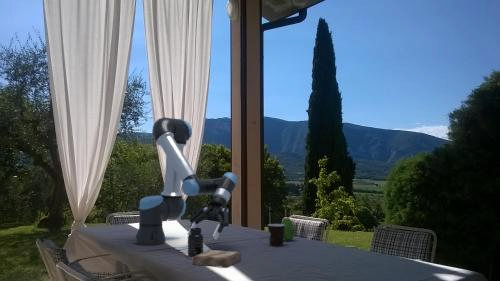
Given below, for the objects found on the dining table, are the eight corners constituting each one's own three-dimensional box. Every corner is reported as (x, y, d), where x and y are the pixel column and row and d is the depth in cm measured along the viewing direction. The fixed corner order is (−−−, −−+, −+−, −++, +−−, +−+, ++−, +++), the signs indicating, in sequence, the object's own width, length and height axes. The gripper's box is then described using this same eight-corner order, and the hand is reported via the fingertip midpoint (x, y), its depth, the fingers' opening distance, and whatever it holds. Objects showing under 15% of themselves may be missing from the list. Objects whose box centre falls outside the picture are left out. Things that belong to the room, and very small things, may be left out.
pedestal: (192, 264, 174) (192, 256, 175) (208, 257, 189) (208, 249, 189) (227, 267, 169) (227, 258, 170) (240, 259, 184) (241, 251, 184)
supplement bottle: (188, 254, 194) (188, 227, 195) (203, 254, 195) (203, 227, 196) (187, 257, 187) (187, 229, 188) (203, 257, 188) (203, 229, 189)
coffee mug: (283, 247, 213) (283, 226, 213) (266, 246, 214) (266, 225, 215) (286, 243, 224) (286, 223, 225) (270, 242, 226) (270, 222, 226)
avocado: (277, 239, 234) (277, 217, 235) (290, 238, 237) (290, 216, 238) (284, 242, 227) (284, 219, 227) (297, 241, 230) (297, 218, 230)
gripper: (245, 206, 203) (228, 244, 189) (201, 204, 215) (182, 239, 201) (239, 195, 199) (222, 233, 185) (195, 194, 211) (175, 229, 197)
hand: (201, 236), depth 193 cm, fingers open, 13 cm apart
